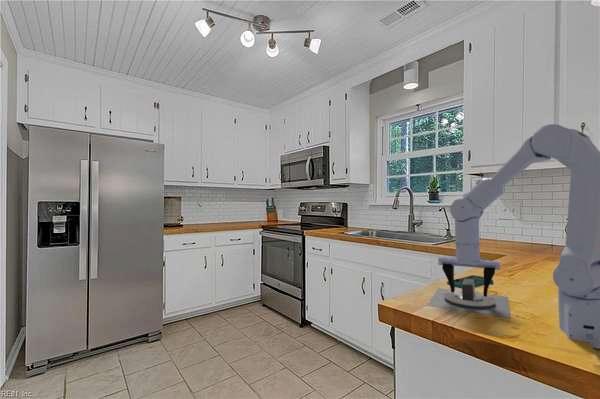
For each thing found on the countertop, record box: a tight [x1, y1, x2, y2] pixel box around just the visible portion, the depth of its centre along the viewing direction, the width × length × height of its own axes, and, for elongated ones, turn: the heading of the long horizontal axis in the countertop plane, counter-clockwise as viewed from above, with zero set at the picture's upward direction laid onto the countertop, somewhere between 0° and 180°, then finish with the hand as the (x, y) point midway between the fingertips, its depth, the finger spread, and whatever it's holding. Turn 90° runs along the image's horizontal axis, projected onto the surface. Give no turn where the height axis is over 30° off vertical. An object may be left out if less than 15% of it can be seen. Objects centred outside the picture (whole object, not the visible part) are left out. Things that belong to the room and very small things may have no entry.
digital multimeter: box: [446, 274, 494, 289], centre depth 99 cm, size 7×15×3 cm, turn 118°
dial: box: [444, 277, 495, 308], centre depth 82 cm, size 12×12×5 cm
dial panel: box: [427, 287, 512, 320], centre depth 82 cm, size 18×18×1 cm
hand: (468, 293), depth 82 cm, fingers open, 7 cm apart
